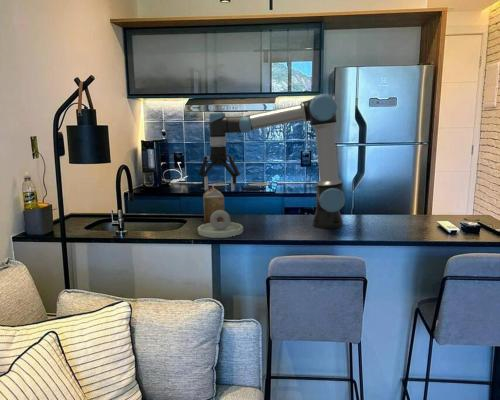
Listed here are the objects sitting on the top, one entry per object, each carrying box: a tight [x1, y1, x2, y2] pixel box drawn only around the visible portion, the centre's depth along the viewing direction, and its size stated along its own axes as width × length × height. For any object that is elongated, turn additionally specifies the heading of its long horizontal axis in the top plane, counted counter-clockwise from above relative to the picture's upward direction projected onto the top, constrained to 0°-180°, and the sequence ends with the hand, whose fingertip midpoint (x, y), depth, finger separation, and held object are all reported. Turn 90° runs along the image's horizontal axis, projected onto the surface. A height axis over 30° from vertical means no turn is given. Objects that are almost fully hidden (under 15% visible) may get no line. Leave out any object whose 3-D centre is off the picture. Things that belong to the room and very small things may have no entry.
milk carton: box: [202, 185, 225, 224], centre depth 231 cm, size 11×11×19 cm
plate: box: [197, 221, 244, 239], centre depth 208 cm, size 22×22×2 cm
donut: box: [210, 210, 231, 230], centre depth 207 cm, size 10×4×10 cm, turn 90°
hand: (219, 190), depth 205 cm, fingers open, 13 cm apart
